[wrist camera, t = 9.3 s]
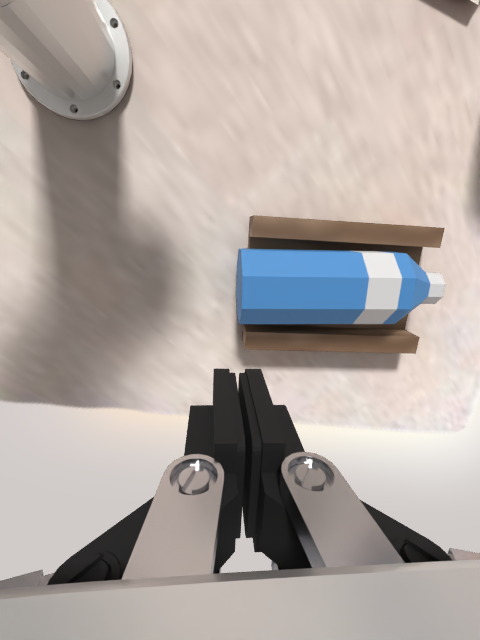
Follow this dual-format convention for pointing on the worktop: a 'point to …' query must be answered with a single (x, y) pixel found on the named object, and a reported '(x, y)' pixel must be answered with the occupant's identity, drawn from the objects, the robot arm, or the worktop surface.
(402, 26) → the worktop surface
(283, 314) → the water bottle
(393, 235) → the u rest
